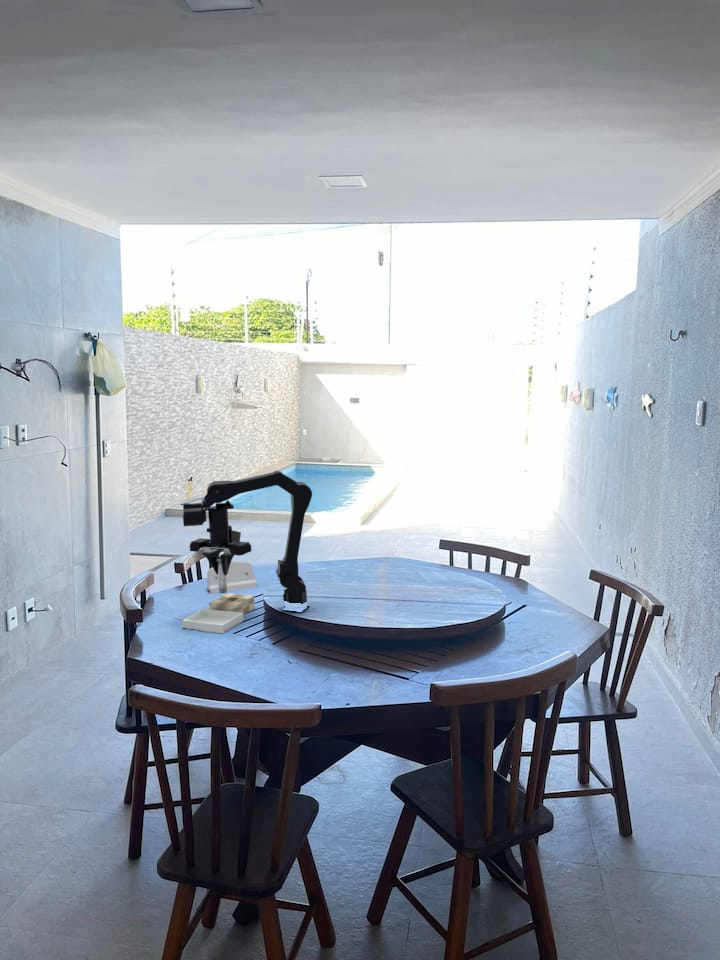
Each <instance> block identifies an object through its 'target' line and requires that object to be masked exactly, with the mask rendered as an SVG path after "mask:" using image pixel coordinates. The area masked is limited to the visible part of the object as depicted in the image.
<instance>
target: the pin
mask: <svg viewBox="0 0 720 960" xmlns="http://www.w3.org/2000/svg"><path fill="white" fill-rule="evenodd" d="M216 561H217V567H218V583H219V593H218V594H226V593H228V591H227V581H226V575H224V572H223V568H222V562H221V557H220V555H219V557H216Z"/></svg>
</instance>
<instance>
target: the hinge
mask: <svg viewBox="0 0 720 960" xmlns="http://www.w3.org/2000/svg"><path fill="white" fill-rule="evenodd" d="M254 572H255V571H254V569H253V565H252V564H251V563H249V562H245V561H231V564H230V567H229V570H228V574H227V575H226V581H227V592H233V591H239V590H245V589H247V590H249V589H253V588H254V589H255V588H258V583H257V579H256V576H255V573H254ZM207 591H209V593H210V595H212V594H213V595H214V594H220V593H219V583H218V574H216V572H215V571H214V569H213V567H212V566H211V568H210V567H209V569H208V570H207Z"/></svg>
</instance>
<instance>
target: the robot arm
mask: <svg viewBox="0 0 720 960" xmlns="http://www.w3.org/2000/svg"><path fill="white" fill-rule="evenodd" d="M274 486H278V487H279V488H281V489H282V490H284V491H285V492H287V493H288V494H290V508H291V513H290V521H289V527H288V532H287V539H286V545H285V553H284V555H283V558H282V560H281V559H277V567H276V570H275V572H276V573H275V574H276V576H277V578H278V581H279V583H280V585H281V586H282V587H283V588H285V589H284V590H283V595H282V598H283V599H282V600H284V601H287V602H289V603H301V604H303V603H305V602H307V603H308V596H307V595H308V594H307V588H306V587H307V586H306V583H305V582H304V580H303V578H302V577H300V575H299V560H298V558H299V553H300V552H299V551H300V546H301V539H302V533H303V526H304V521H305V514H306V513H307V510H308V508H309V506H310V504H311V500H312V497H313V491H312V489H311V488H310V486H309V485H308V484H307V483H305V482H302V481H298V482H297V481H296V480H294V479H293V478H291V477H290V476H287V475H286V474H284V473H283V472H282V471H280V470H275V471H272V472H268V473H262V474H258V475H254V476H252V477H248V478H242V479H236V480H214V481H212V482H210V483H209V484H208V486H207V488H206V494H205V496H204V497H203V499H202V500H201V502H196V503H190V502H189V503H188V502H184V503H183V504H182V506H183V507H182V508H183V509H182V510H183V513H182V521H183V528H184V527H196V526H197V527H198V526H203V525H204V523H205V522H207V514H208V528H206V533H209V538H201V537H200V538H197V539H195V540H192V541H191V542H190V543H189V552H200V550H201V549H203V552H202V553H201V555H202V556H205V558H206V559H207V562H209V563H210V565H211V568H212V567H213V569H214V571H215V572H216V574H218V567H217V561H216V557H219V556H220V557H221V562H222V568H223V572H224V575H227V574H228V570H229V567H230V564H231V562H233V558H234V557H235V556H243V555H246V554H248V553H251V552H252V544H251V543H250V542H249V541H241V536H242V535H241V534H242V533H241V532H240V531H237V530H233V528H232V525H230V524H229V512H228V510H232V509H233V510H234V508H235V506H234V504H232V503H231V502H230V499H232V498H233V497H236V496H238V495H240V494H244V493H248V492H252V491H257V490H261V489H266V488H271V487H274ZM214 504H215V505H214ZM206 511H208V512H206ZM221 551H224V552H223V553H222V554H221Z"/></svg>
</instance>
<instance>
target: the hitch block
mask: <svg viewBox="0 0 720 960" xmlns="http://www.w3.org/2000/svg"><path fill="white" fill-rule="evenodd" d="M255 602H256V599H255V595H251V594H249V595H248V594H239V593H238V594H237V593H230V592H227V593H224V594H222V595H221V596H219V597H217V598H215V599H214V600H212V601H210V602H208V606H209V607H208V609H211V610H220V611H229V612H238V613H243V616H244V615H246V614H248V613H249V612H252V611H253V610H255V609H256V604H255Z"/></svg>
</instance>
